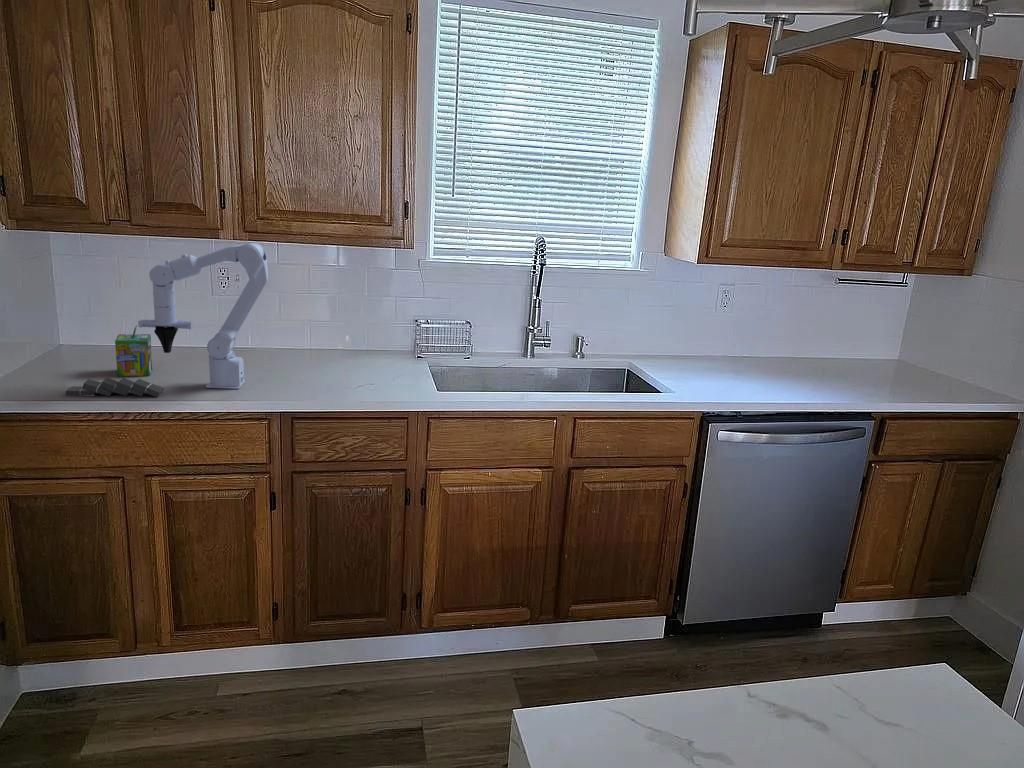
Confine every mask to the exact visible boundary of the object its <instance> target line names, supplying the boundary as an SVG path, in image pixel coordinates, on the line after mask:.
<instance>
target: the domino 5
mask: <svg viewBox="0 0 1024 768" xmlns="http://www.w3.org/2000/svg"><path fill="white" fill-rule="evenodd" d="M133 382H134V384H133V386H132V388H134V389H136V390H139V391H142V392H144V393H145V394H147V395H150V396H153V397H155V398H159V397H160V396H161V395H162V394H163V391H164V389H165V388H164V387H161V386H160V385H157V384H154V383H151V382H148V381H146V380H144V379H140V378H138V379H137V380H135V381H133Z"/></svg>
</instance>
